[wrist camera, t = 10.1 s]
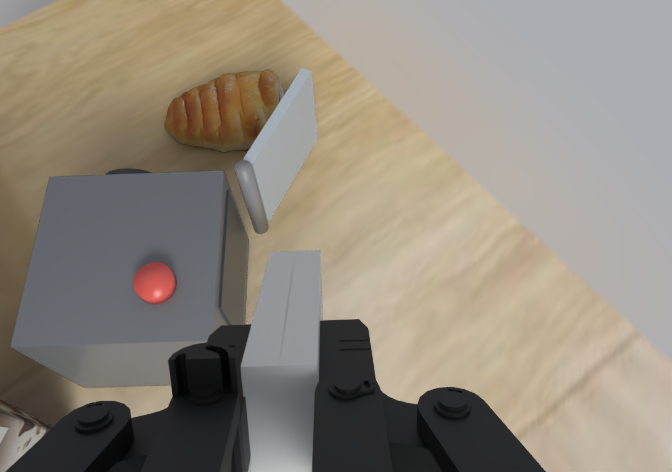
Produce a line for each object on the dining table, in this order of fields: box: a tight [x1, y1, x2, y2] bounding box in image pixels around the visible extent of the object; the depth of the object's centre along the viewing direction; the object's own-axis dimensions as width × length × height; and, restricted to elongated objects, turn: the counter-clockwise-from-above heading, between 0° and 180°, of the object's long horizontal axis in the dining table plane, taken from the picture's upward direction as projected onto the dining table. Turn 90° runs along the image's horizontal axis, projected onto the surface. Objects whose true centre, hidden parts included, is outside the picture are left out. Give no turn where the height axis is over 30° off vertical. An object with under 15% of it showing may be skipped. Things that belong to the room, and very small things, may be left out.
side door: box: [234, 68, 318, 234], centre depth 39 cm, size 1×9×8 cm, turn 155°
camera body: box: [10, 169, 249, 388], centre depth 35 cm, size 10×12×10 cm
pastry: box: [165, 70, 284, 152], centre depth 45 cm, size 9×7×4 cm
